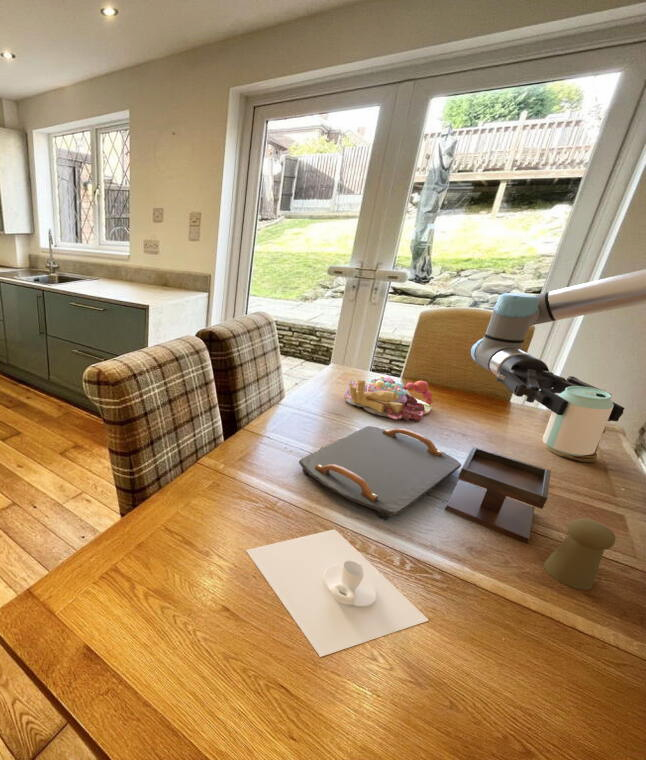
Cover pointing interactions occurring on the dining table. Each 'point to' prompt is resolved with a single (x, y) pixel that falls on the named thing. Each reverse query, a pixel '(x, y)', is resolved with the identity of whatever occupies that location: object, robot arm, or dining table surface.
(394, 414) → the candy landscape model
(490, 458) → the brown pedestal stand
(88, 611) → the dining table surface
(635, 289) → the robot arm
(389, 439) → the serving tray
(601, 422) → the can
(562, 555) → the cork
